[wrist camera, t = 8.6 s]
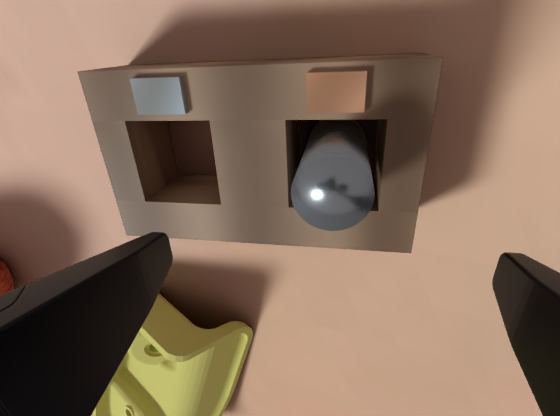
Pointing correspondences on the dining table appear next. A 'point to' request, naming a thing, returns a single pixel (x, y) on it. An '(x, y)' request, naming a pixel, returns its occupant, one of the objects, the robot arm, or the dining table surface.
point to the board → (262, 144)
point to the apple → (5, 279)
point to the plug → (334, 177)
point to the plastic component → (177, 367)
